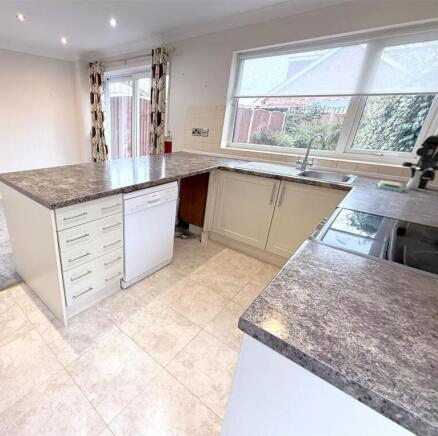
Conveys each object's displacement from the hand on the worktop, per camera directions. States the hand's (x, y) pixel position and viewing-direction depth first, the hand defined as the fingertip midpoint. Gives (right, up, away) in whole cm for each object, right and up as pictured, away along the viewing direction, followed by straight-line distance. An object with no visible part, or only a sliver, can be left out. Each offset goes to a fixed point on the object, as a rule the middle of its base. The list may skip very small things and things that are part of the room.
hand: (415, 178), depth 170 cm
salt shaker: (0, -7, +3) cm, 8 cm away
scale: (-15, -6, +3) cm, 17 cm away
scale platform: (-14, -3, +3) cm, 15 cm away
